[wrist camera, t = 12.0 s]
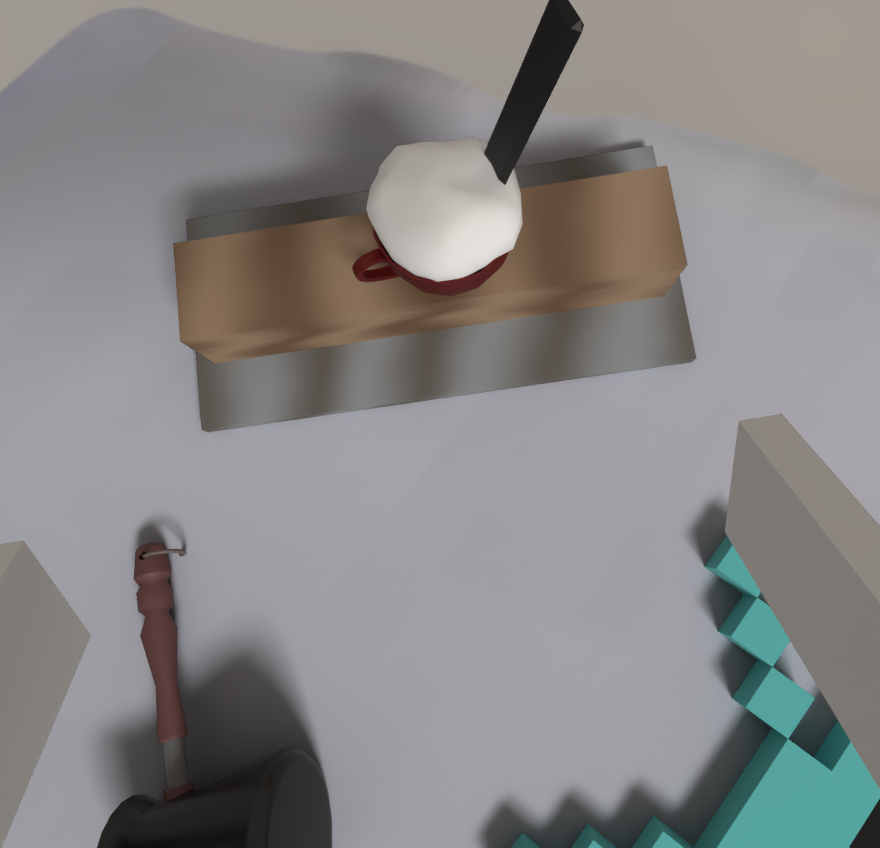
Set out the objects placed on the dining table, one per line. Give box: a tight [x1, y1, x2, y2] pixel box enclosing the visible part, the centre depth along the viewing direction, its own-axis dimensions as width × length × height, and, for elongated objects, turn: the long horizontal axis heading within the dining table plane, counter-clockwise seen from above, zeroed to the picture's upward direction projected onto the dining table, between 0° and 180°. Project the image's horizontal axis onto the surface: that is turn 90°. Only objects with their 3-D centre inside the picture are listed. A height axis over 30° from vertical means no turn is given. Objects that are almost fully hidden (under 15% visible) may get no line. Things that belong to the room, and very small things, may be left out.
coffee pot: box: [97, 543, 332, 848], centre depth 32 cm, size 8×18×8 cm
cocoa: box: [352, 0, 584, 296], centre depth 26 cm, size 10×6×12 cm, turn 96°
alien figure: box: [511, 535, 880, 848], centre depth 31 cm, size 20×2×20 cm
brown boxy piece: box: [173, 146, 696, 432], centre depth 35 cm, size 26×12×5 cm, turn 98°
